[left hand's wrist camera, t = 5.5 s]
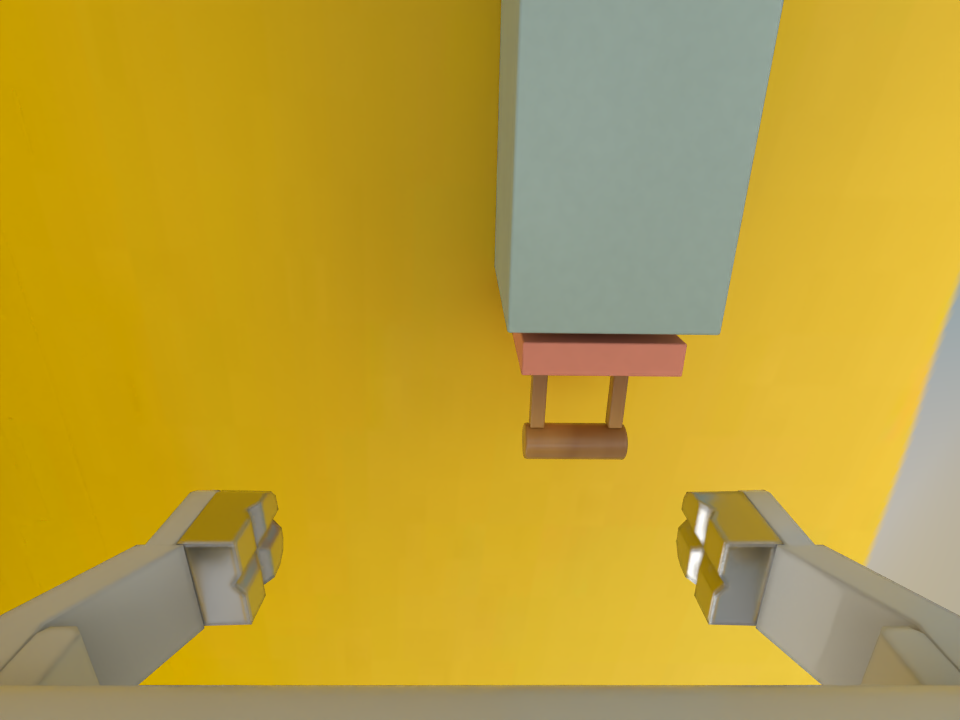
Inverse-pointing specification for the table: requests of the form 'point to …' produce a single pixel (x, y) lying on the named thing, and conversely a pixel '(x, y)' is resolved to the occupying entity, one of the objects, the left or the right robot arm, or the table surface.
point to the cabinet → (626, 159)
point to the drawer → (589, 359)
